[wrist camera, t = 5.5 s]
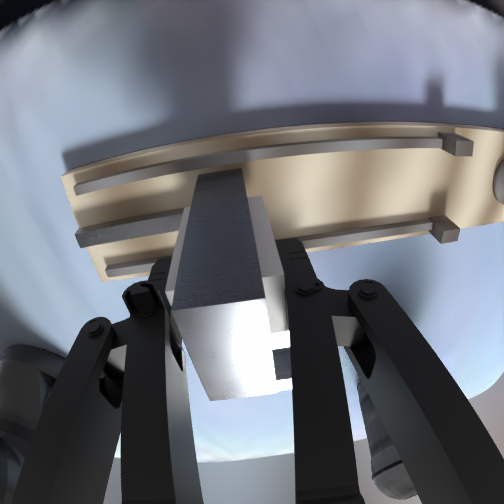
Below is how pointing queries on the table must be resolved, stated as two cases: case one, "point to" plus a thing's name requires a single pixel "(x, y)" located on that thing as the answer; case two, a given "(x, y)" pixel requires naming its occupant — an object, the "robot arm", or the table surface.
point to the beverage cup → (384, 453)
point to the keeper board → (304, 185)
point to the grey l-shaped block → (213, 285)
